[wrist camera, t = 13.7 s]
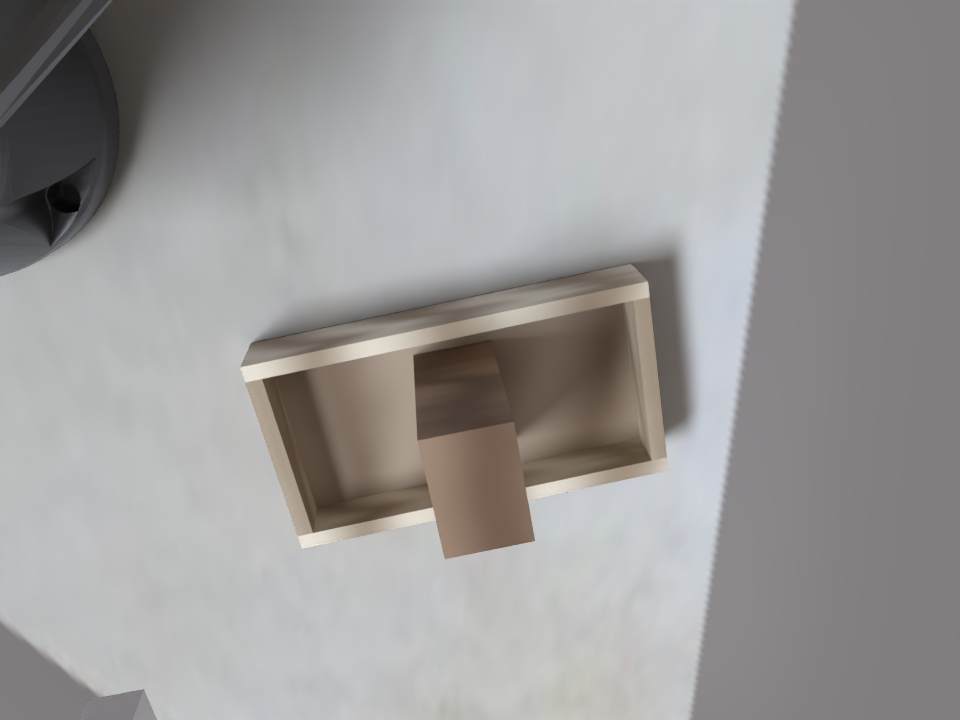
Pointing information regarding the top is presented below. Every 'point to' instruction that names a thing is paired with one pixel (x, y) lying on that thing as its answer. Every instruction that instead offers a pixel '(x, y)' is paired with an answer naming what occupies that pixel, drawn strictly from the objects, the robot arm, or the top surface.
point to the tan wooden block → (470, 450)
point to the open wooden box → (527, 382)
